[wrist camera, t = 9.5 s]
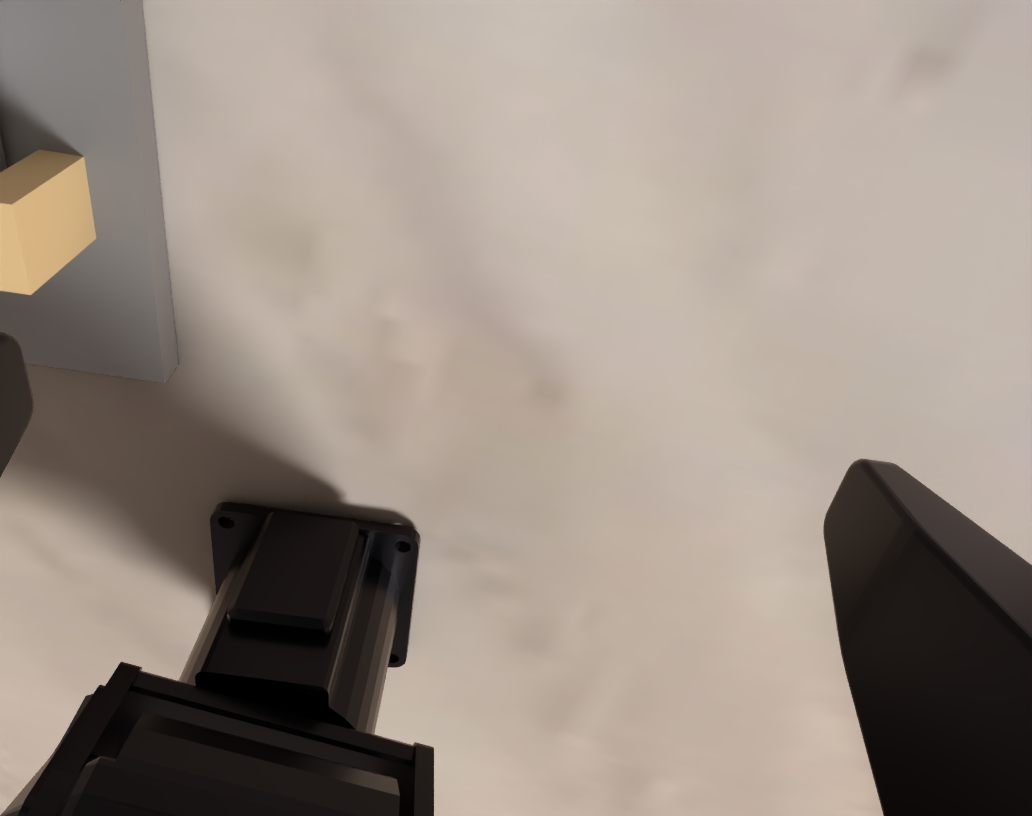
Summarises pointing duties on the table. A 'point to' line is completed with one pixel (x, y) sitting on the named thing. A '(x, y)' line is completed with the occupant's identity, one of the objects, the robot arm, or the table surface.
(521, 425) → the table surface
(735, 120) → the table surface
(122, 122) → the plate
